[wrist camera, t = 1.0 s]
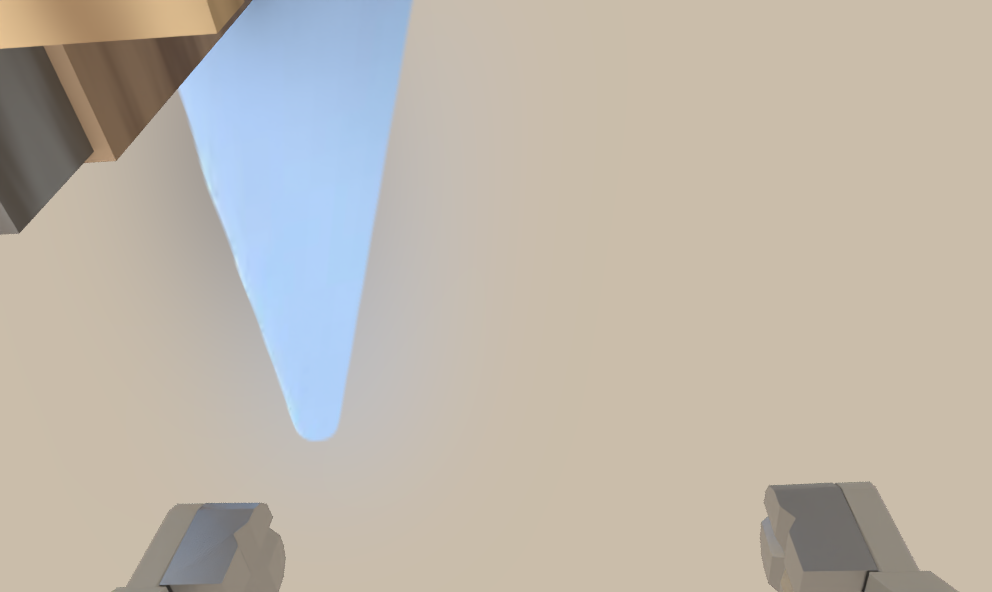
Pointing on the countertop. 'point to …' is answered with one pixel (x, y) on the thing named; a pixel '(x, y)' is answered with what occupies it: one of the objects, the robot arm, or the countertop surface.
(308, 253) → the countertop surface
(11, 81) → the t bar
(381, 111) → the countertop surface
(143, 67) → the post
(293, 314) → the countertop surface
